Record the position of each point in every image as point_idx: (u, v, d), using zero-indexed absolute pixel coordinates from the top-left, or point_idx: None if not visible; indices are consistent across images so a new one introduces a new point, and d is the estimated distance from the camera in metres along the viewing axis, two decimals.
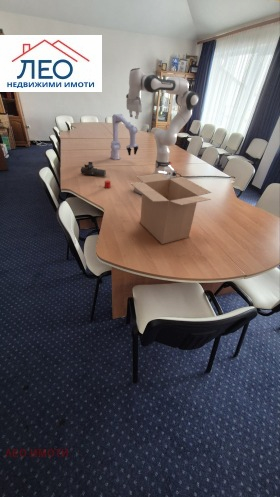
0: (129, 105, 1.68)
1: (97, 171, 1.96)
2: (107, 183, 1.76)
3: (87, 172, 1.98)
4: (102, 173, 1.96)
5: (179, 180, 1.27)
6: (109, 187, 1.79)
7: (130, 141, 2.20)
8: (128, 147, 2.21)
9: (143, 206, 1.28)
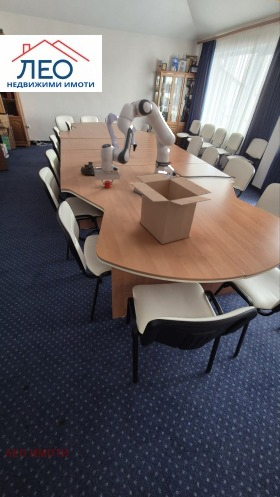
0: None
1: None
2: (107, 183, 1.76)
3: (87, 172, 1.98)
4: None
5: (179, 180, 1.27)
6: (109, 187, 1.79)
7: None
8: None
9: (143, 206, 1.28)
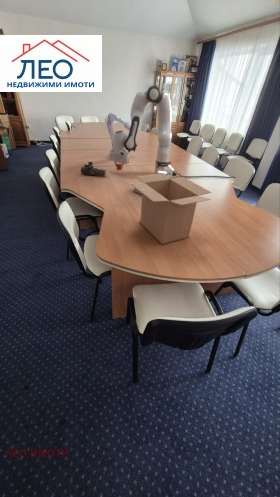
0: None
1: (97, 171, 1.96)
2: (117, 165, 2.02)
3: (87, 172, 1.98)
4: (102, 173, 1.96)
5: (179, 180, 1.27)
6: (118, 169, 2.04)
7: None
8: None
9: (143, 206, 1.28)
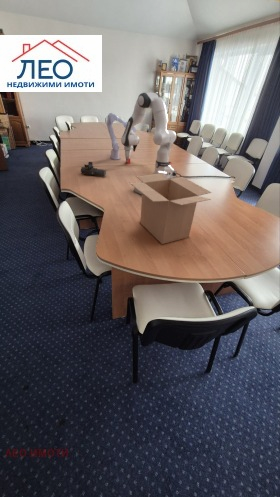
0: None
1: (97, 171, 1.96)
2: None
3: (87, 172, 1.98)
4: (102, 173, 1.96)
5: (179, 180, 1.27)
6: (126, 163, 2.37)
7: None
8: None
9: (143, 206, 1.28)
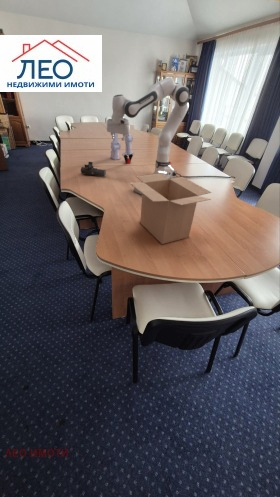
0: None
1: (97, 171, 1.96)
2: None
3: (87, 172, 1.98)
4: (102, 173, 1.96)
5: (179, 180, 1.27)
6: (126, 163, 2.37)
7: (126, 149, 2.29)
8: (124, 155, 2.30)
9: (143, 206, 1.28)
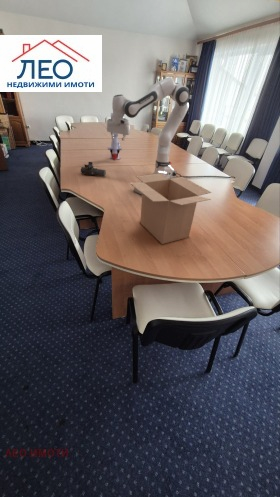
0: None
1: (97, 171, 1.96)
2: None
3: (87, 172, 1.98)
4: (102, 173, 1.96)
5: (179, 180, 1.27)
6: None
7: (111, 143, 2.25)
8: (109, 149, 2.27)
9: (143, 206, 1.28)
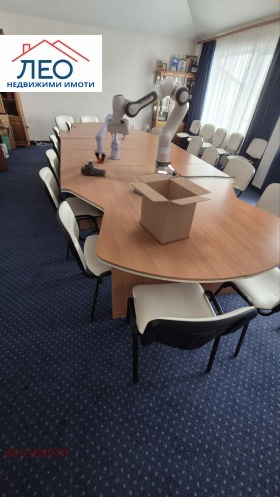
0: None
1: (97, 171, 1.96)
2: None
3: (87, 172, 1.98)
4: (102, 173, 1.96)
5: (179, 180, 1.27)
6: None
7: None
8: None
9: (143, 206, 1.28)
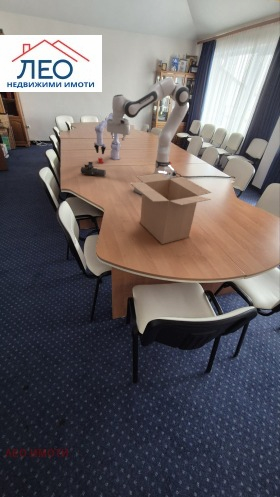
0: None
1: (97, 171, 1.96)
2: None
3: (87, 172, 1.98)
4: (102, 173, 1.96)
5: (179, 180, 1.27)
6: None
7: None
8: (95, 144, 2.26)
9: (143, 206, 1.28)
